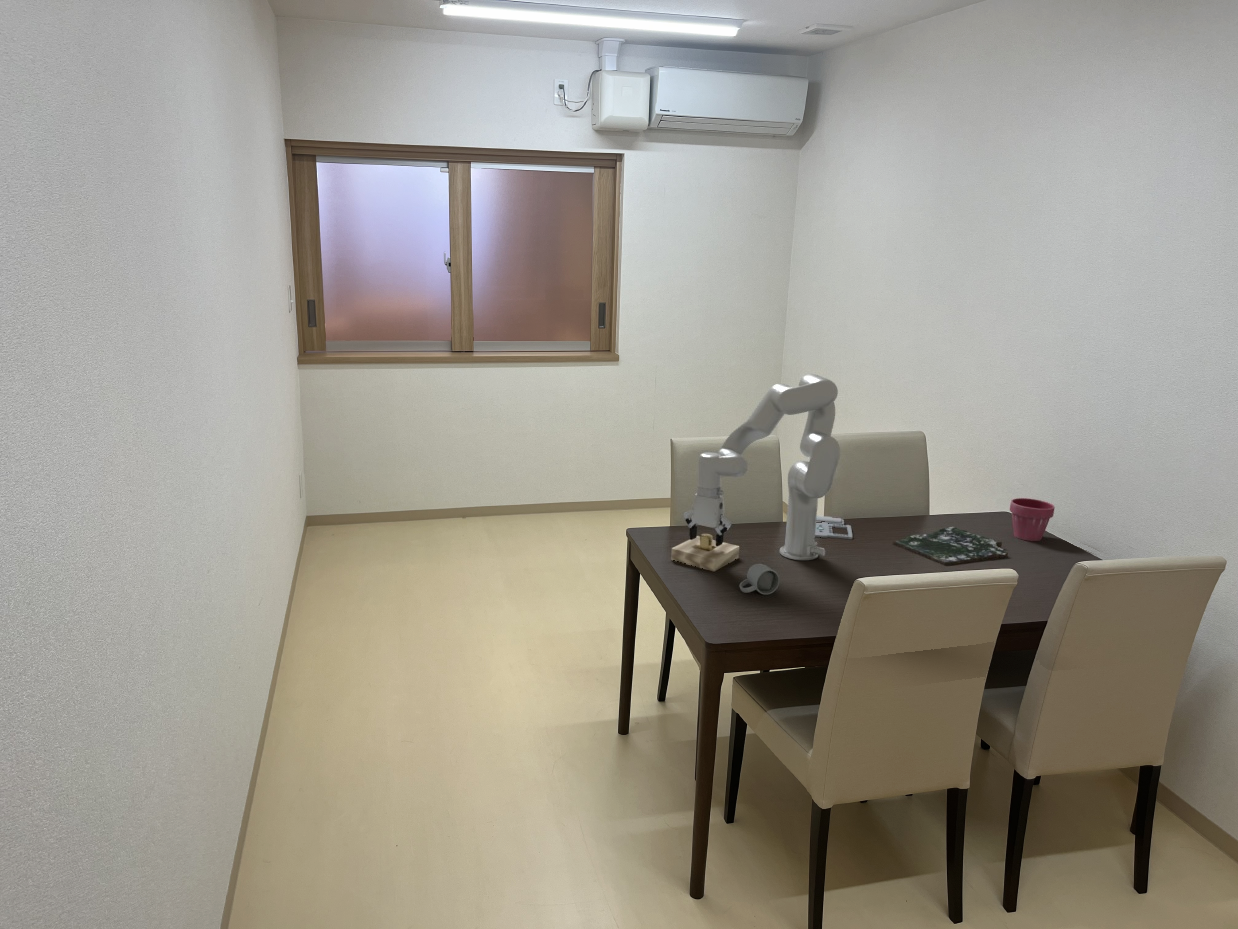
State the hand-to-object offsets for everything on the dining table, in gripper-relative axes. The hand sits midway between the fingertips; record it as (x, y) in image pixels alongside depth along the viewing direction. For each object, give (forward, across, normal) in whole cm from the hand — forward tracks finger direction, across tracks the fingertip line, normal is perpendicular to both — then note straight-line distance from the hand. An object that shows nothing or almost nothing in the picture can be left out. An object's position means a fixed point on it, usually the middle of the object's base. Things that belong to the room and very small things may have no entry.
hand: (705, 542), depth 278 cm
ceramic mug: (+6, -26, +13) cm, 29 cm away
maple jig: (+6, 0, 0) cm, 6 cm away
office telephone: (+7, -17, -56) cm, 59 cm away
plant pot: (+6, -79, -94) cm, 123 cm away
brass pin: (+6, 0, 0) cm, 6 cm away
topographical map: (+7, -62, -64) cm, 89 cm away
